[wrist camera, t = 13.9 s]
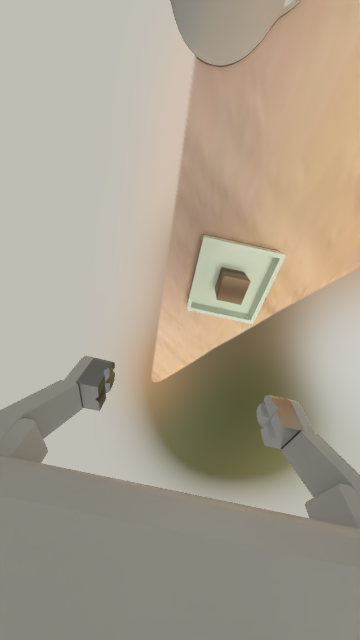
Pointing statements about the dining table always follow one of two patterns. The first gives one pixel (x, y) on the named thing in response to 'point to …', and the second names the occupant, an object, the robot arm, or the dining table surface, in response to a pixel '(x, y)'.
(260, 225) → the dining table surface
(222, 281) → the walnut block
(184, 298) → the dining table surface
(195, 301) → the bin
